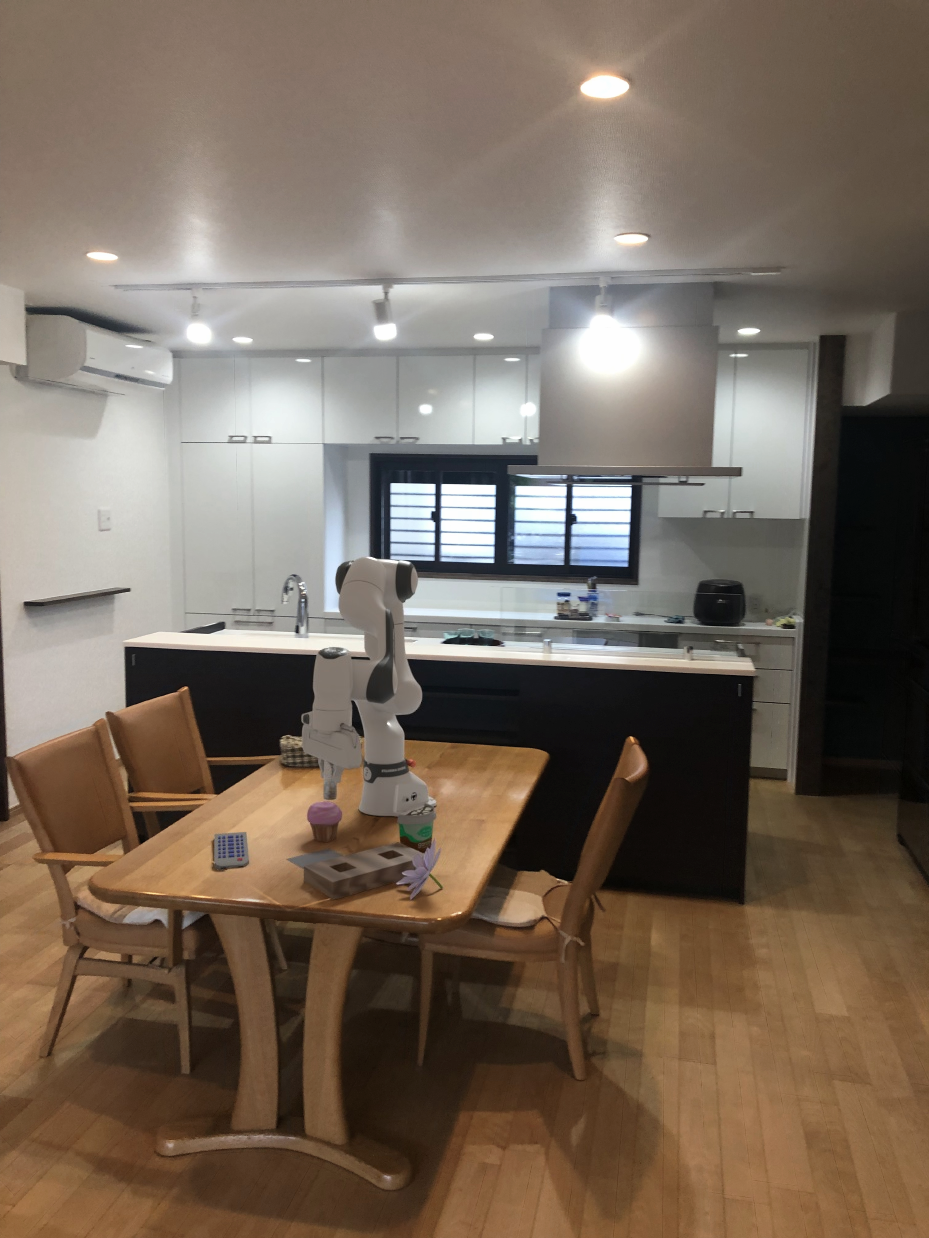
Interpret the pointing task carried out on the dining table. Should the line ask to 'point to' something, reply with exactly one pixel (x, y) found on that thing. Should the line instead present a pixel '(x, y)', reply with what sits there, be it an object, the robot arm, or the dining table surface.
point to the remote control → (230, 850)
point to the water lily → (421, 870)
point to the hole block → (361, 870)
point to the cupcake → (324, 820)
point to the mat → (314, 857)
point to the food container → (417, 828)
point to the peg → (329, 782)
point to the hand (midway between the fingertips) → (330, 780)
